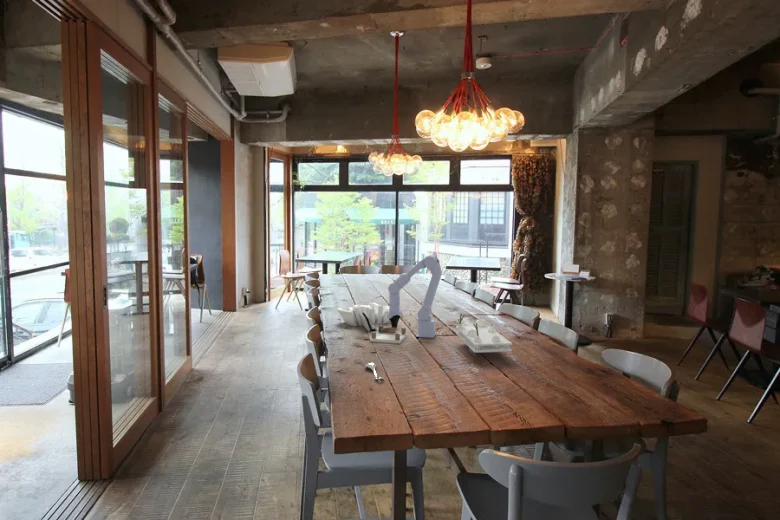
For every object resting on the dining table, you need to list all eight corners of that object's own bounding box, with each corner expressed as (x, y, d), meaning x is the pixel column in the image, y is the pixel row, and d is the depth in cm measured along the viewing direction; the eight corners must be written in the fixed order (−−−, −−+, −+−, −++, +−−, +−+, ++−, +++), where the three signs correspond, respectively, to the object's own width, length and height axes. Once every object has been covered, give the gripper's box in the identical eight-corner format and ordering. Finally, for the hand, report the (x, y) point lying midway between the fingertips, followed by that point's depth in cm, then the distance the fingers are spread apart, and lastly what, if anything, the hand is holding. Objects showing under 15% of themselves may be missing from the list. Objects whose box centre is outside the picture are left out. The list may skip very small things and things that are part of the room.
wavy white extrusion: (341, 327, 276) (341, 309, 275) (335, 321, 291) (335, 304, 290) (397, 323, 287) (397, 306, 286) (389, 317, 302) (389, 301, 302)
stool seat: (407, 335, 255) (407, 327, 255) (399, 343, 240) (399, 334, 240) (379, 333, 260) (379, 325, 259) (370, 341, 244) (369, 332, 244)
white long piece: (387, 372, 184) (375, 373, 183) (387, 381, 185) (375, 382, 183) (374, 360, 204) (363, 361, 202) (374, 368, 204) (363, 369, 202)
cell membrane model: (512, 361, 210) (512, 324, 208) (465, 363, 208) (466, 325, 206) (488, 341, 245) (488, 309, 243) (448, 342, 243) (448, 310, 241)
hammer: (377, 332, 257) (377, 326, 256) (379, 330, 259) (379, 325, 259) (394, 333, 254) (394, 327, 254) (395, 332, 257) (395, 326, 256)
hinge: (376, 330, 267) (371, 314, 265) (369, 333, 266) (363, 317, 264) (370, 323, 283) (364, 308, 281) (363, 326, 282) (357, 311, 280)
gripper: (393, 301, 267) (393, 325, 268) (382, 306, 253) (382, 330, 255) (404, 302, 263) (404, 326, 265) (393, 307, 250) (393, 332, 252)
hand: (394, 328), depth 260 cm, fingers closed
